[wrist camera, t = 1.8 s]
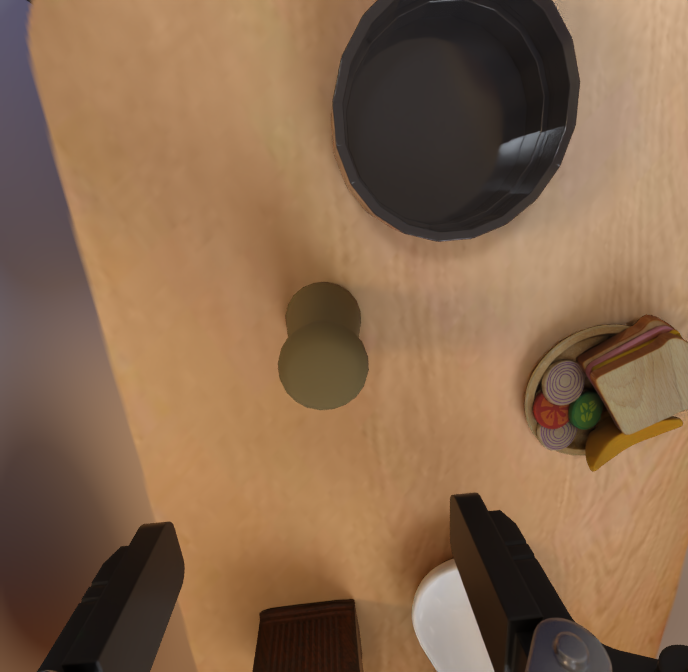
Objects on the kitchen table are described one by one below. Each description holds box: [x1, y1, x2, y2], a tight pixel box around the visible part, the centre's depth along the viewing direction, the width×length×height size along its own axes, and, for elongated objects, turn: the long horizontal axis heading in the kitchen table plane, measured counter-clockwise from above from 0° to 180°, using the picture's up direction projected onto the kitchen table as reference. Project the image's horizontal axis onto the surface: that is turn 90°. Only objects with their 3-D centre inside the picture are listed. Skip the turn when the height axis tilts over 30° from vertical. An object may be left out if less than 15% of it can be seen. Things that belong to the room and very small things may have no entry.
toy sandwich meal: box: [525, 315, 688, 471], centre depth 32 cm, size 12×14×5 cm
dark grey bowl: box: [331, 0, 580, 242], centre depth 25 cm, size 14×14×5 cm
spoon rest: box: [412, 559, 494, 672], centre depth 40 cm, size 24×12×7 cm, turn 9°
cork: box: [278, 282, 369, 410], centre depth 26 cm, size 6×6×11 cm
